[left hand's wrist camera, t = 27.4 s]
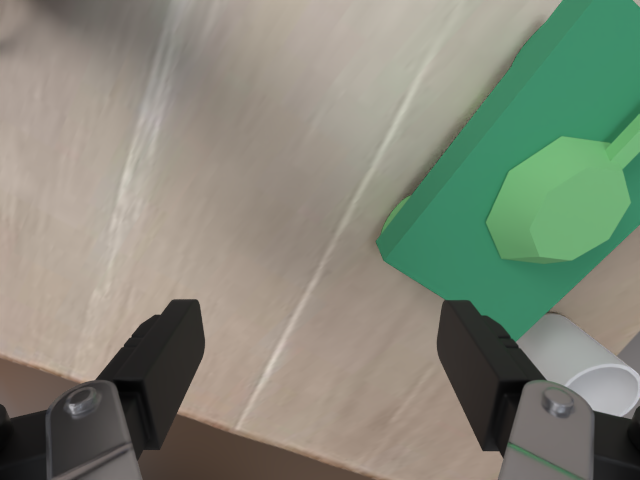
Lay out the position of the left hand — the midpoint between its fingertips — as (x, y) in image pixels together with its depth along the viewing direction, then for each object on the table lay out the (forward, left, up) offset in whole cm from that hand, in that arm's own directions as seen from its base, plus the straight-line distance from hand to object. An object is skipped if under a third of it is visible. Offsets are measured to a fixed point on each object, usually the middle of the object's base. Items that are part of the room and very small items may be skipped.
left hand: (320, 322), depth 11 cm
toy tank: (+18, -15, -30) cm, 38 cm away
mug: (+3, -37, -30) cm, 47 cm away
